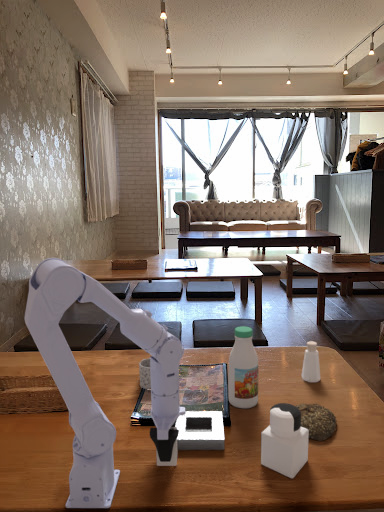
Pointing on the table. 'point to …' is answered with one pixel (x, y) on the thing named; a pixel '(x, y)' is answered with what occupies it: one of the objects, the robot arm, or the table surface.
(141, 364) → the mug
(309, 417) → the bread roll
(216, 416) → the socket
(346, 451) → the table surface
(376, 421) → the table surface
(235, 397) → the milk bottle
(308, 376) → the salt shaker
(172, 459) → the plug
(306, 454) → the medicine bottle
